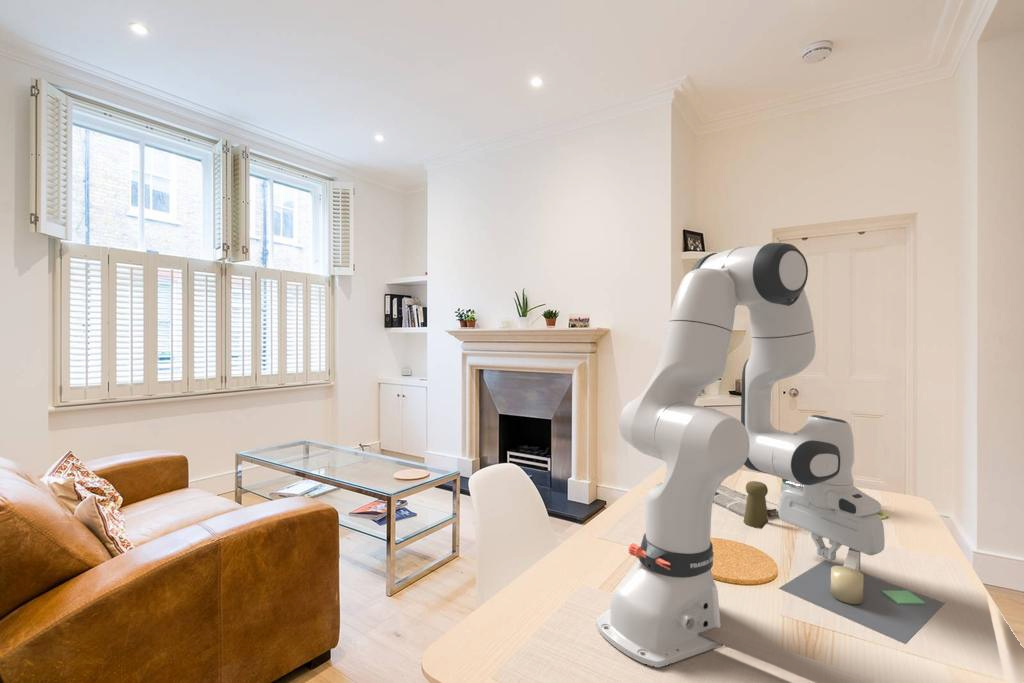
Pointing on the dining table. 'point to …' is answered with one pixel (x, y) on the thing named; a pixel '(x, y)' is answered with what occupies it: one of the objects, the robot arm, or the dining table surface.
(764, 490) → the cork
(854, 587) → the dial lever
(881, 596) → the dial board
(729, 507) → the newspaper
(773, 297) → the robot arm
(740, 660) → the dining table surface
